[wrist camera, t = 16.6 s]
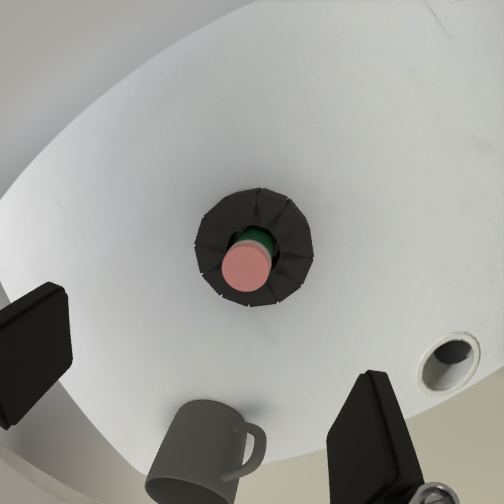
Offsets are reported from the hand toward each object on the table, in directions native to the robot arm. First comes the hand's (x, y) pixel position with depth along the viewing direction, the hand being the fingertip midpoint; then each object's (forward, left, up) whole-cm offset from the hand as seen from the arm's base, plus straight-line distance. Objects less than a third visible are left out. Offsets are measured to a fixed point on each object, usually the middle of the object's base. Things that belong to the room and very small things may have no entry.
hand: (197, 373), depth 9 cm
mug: (+14, -18, -20) cm, 30 cm away
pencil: (0, 0, -20) cm, 20 cm away
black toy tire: (0, -1, -20) cm, 20 cm away
